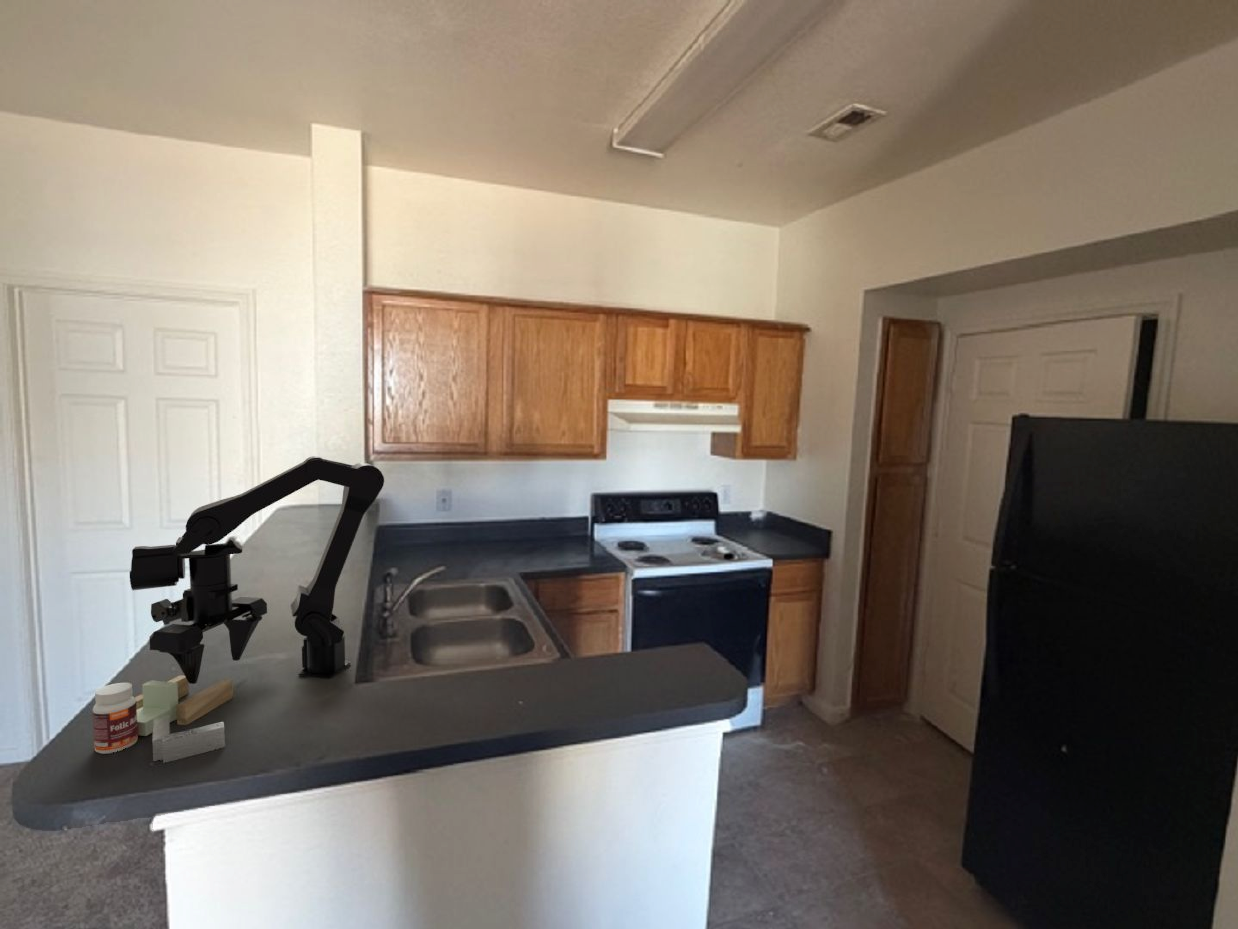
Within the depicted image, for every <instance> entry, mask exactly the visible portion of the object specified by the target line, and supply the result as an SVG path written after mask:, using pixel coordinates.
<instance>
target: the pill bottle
mask: <svg viewBox="0 0 1238 929" xmlns="http://www.w3.org/2000/svg"><path fill="white" fill-rule="evenodd" d="M94 695H95V696H94V697H95V698H94V701H95V704H94V706H92V722H93V723H92V725H93V744H94V751H95V752H96V753H97V754H101V755H102V754H103V755H104V754H114V753H118V752H120V751H123V749H124V750H126V749H128V748H130V747H132V746H134V745H135V744H136V743H137V742H138V738H139V737H138V736H139V735H137V709H136V708H137V707H136V699H135V697H136V696H135V697H134V696H133V684H132V683H130V682H118V683H117V682H116V683H112V684H107V685H105V686H103V687H100V688H98V689H97V690H96V691H95V693H94ZM125 748H126V749H125ZM117 751H118V752H117ZM113 752H114V753H113Z"/></svg>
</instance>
